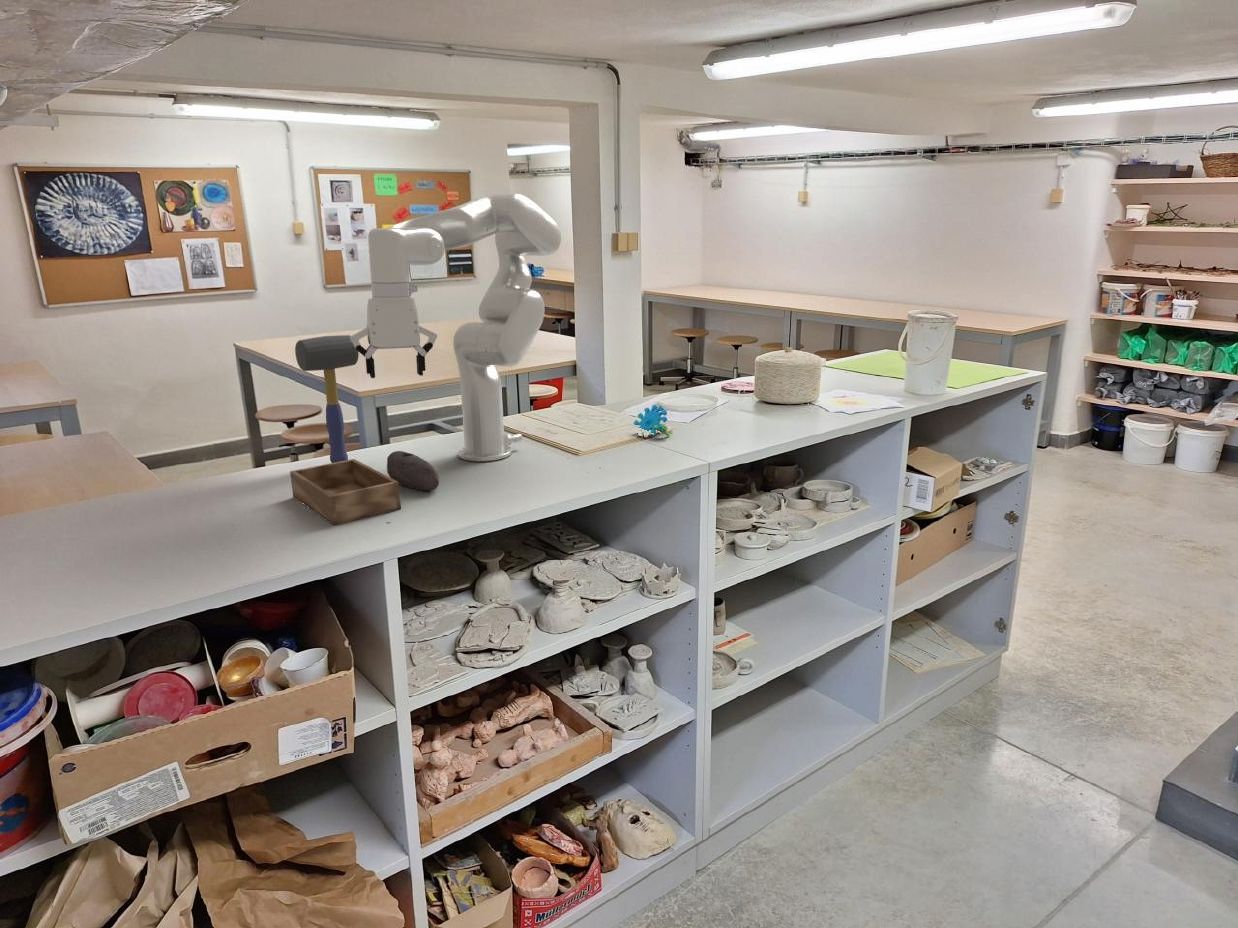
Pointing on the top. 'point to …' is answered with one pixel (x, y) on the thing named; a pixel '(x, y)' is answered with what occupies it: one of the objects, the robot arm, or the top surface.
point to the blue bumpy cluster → (653, 420)
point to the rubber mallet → (329, 380)
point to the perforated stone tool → (412, 471)
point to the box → (345, 491)
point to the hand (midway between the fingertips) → (396, 376)
